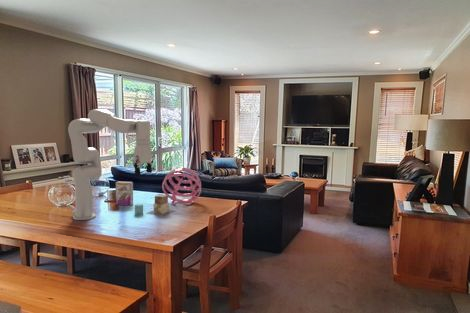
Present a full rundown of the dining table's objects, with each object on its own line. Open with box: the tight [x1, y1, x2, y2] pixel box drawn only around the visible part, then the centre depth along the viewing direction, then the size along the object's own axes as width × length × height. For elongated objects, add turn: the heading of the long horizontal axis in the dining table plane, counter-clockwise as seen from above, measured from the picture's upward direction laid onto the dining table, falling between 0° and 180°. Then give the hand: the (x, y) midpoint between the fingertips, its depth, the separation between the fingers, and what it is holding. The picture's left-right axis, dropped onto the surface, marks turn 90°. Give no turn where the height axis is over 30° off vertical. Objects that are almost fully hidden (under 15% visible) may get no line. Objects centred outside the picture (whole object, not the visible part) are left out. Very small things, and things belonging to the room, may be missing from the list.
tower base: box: [153, 201, 170, 214], centre depth 211 cm, size 7×7×6 cm
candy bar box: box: [115, 180, 134, 206], centre depth 230 cm, size 11×5×16 cm, turn 84°
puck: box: [134, 203, 144, 216], centre depth 205 cm, size 5×5×6 cm
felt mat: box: [145, 209, 176, 217], centre depth 211 cm, size 14×14×1 cm
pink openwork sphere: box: [161, 167, 202, 206], centre depth 234 cm, size 28×28×27 cm
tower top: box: [154, 193, 169, 205], centre depth 210 cm, size 6×6×5 cm
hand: (143, 173), depth 178 cm, fingers open, 9 cm apart
